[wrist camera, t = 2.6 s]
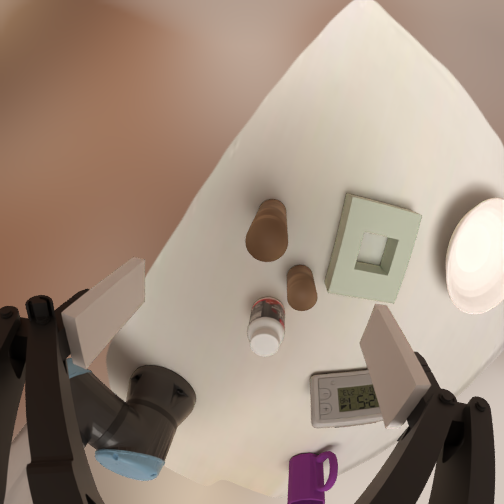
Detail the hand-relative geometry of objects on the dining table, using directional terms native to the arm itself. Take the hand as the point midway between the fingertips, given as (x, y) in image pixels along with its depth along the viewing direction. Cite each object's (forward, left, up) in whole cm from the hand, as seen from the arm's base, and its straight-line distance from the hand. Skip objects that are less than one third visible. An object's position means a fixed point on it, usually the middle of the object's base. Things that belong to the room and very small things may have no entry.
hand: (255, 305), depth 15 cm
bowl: (+36, +2, -28) cm, 46 cm away
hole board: (+15, -2, -27) cm, 31 cm away
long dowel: (0, 0, -27) cm, 27 cm away
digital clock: (+21, -29, -28) cm, 45 cm away
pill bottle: (+2, -16, -28) cm, 32 cm away
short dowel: (+6, -9, -27) cm, 29 cm away
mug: (+23, -59, -28) cm, 69 cm away
